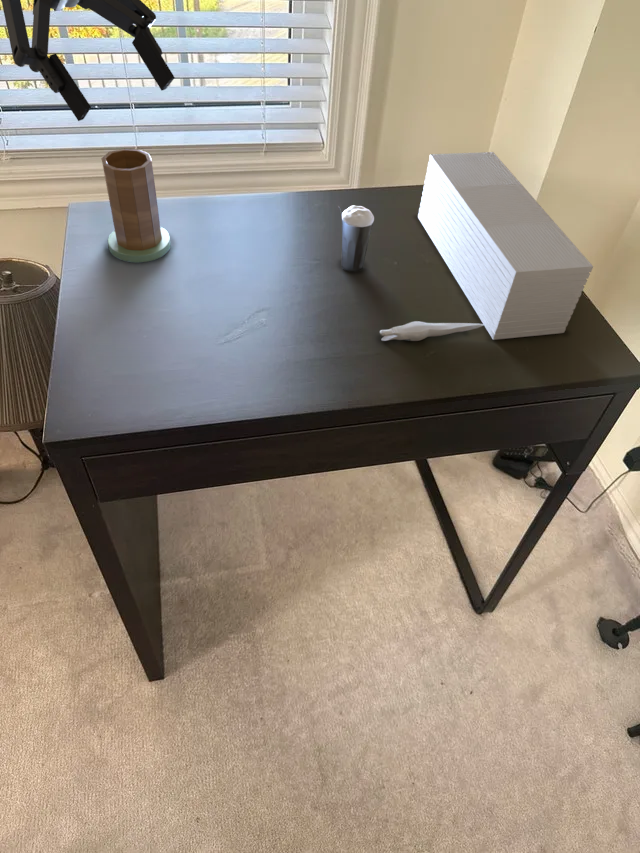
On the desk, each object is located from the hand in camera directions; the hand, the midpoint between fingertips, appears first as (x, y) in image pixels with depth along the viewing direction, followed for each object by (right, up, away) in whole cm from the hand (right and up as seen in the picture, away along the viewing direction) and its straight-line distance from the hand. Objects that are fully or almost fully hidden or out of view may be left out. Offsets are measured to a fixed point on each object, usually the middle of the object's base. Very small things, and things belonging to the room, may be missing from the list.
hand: (128, 98), depth 79 cm
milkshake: (+28, -17, +17) cm, 37 cm away
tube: (-3, -13, +16) cm, 21 cm away
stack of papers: (+49, -17, +19) cm, 55 cm away
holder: (-3, -14, +17) cm, 22 cm away
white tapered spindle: (+39, -28, +7) cm, 48 cm away
